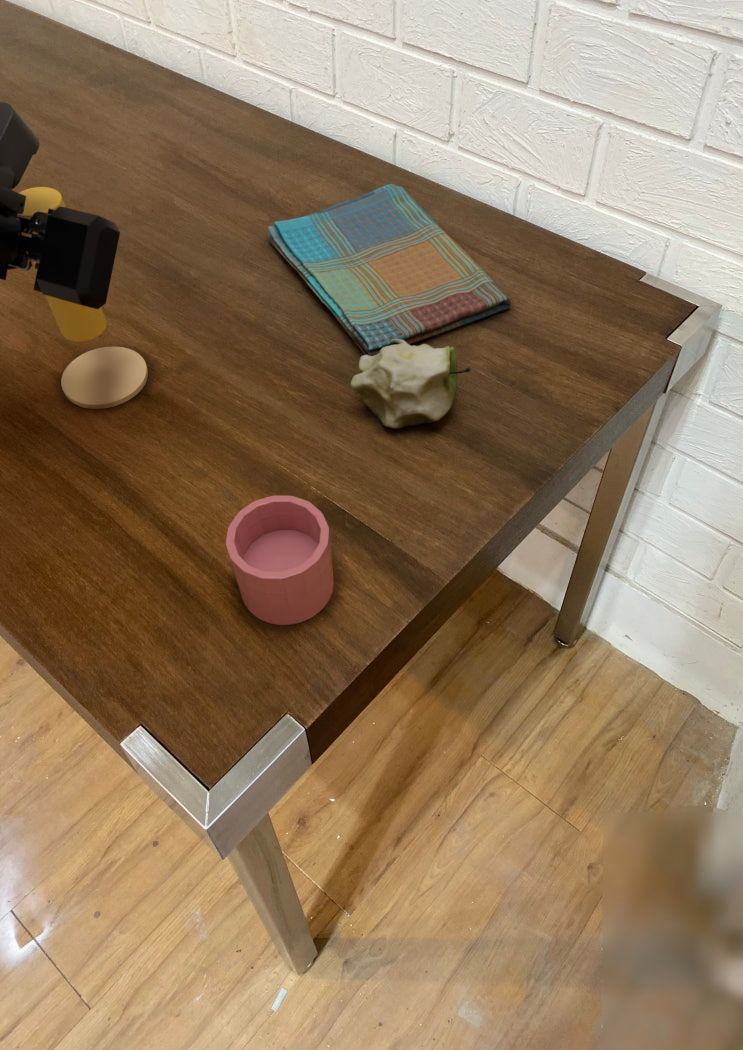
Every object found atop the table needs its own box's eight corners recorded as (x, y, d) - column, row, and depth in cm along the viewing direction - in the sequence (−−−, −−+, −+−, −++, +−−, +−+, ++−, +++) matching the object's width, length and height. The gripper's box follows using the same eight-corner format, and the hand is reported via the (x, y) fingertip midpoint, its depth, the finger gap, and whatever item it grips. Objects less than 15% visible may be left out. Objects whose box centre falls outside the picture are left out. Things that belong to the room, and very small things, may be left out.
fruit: (474, 408, 73) (490, 354, 65) (401, 464, 70) (409, 415, 62) (407, 346, 75) (415, 288, 68) (334, 398, 72) (334, 344, 65)
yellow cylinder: (91, 345, 67) (42, 219, 58) (52, 336, 68) (-4, 210, 58) (115, 317, 69) (71, 191, 60) (76, 309, 70) (27, 183, 61)
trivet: (69, 418, 71) (66, 414, 70) (58, 363, 75) (55, 358, 75) (155, 395, 72) (154, 391, 72) (139, 342, 77) (138, 337, 76)
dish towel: (400, 197, 91) (400, 177, 89) (514, 308, 79) (517, 287, 77) (266, 241, 87) (263, 220, 85) (365, 366, 74) (365, 345, 72)
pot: (254, 638, 57) (241, 591, 52) (230, 562, 61) (215, 512, 56) (346, 607, 59) (342, 559, 53) (316, 534, 63) (310, 483, 57)
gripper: (56, 102, 46) (190, 185, 61) (-178, 54, 51) (-1, 141, 66) (22, 290, 48) (159, 325, 63) (-200, 227, 53) (-24, 274, 68)
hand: (72, 262), depth 65 cm, fingers closed on yellow cylinder, 4 cm apart
